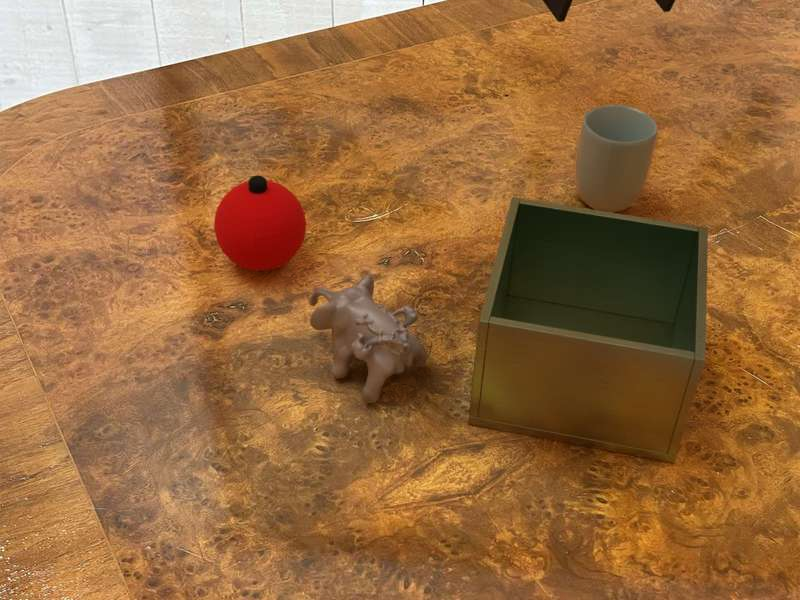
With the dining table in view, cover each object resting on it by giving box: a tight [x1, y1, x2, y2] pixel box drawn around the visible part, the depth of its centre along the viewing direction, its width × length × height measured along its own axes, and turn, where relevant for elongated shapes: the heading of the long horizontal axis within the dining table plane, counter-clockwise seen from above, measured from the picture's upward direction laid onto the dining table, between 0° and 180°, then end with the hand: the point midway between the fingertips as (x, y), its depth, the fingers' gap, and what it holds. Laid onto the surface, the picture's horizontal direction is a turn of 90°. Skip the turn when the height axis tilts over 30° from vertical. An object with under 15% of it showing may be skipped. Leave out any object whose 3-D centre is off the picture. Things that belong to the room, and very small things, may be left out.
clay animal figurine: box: [308, 273, 428, 404], centre depth 95 cm, size 9×12×8 cm
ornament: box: [213, 175, 307, 272], centre depth 105 cm, size 9×9×10 cm
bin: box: [467, 196, 709, 464], centre depth 93 cm, size 18×18×12 cm
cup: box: [574, 104, 659, 213], centre depth 115 cm, size 8×8×10 cm
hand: (620, 6), depth 111 cm, fingers open, 13 cm apart
